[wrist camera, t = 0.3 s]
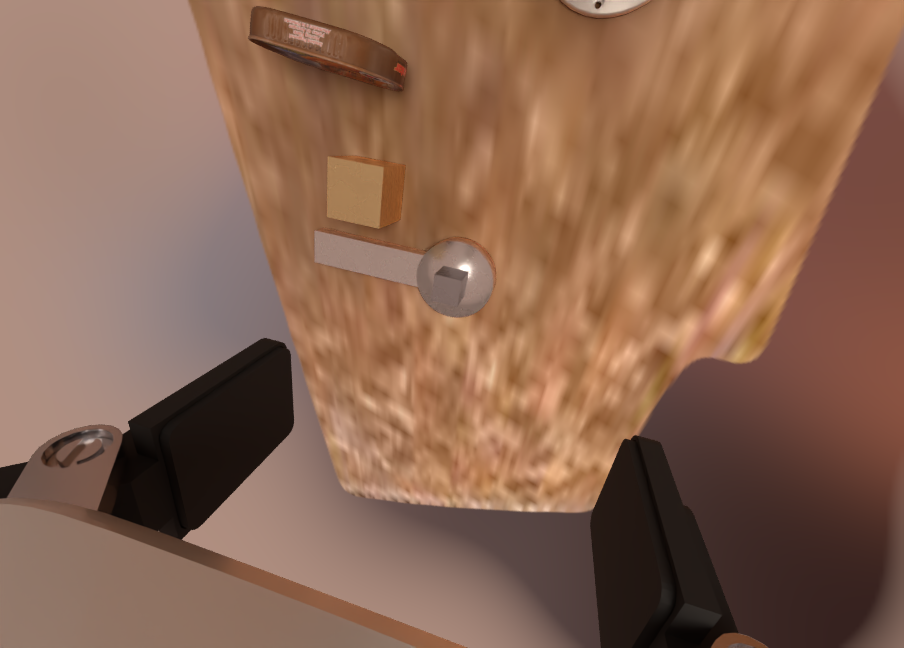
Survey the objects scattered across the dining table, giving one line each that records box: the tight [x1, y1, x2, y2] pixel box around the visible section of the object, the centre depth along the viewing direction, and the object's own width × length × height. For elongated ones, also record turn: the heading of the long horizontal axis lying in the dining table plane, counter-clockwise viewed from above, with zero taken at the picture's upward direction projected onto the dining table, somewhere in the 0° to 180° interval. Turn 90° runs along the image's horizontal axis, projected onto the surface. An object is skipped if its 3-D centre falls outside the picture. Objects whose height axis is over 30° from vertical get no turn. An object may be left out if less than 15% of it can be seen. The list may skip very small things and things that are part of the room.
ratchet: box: [315, 228, 496, 317], centre depth 45 cm, size 9×22×6 cm, turn 79°
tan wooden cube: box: [327, 156, 406, 229], centre depth 42 cm, size 6×6×6 cm
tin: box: [248, 6, 407, 91], centre depth 36 cm, size 15×3×8 cm, turn 73°
